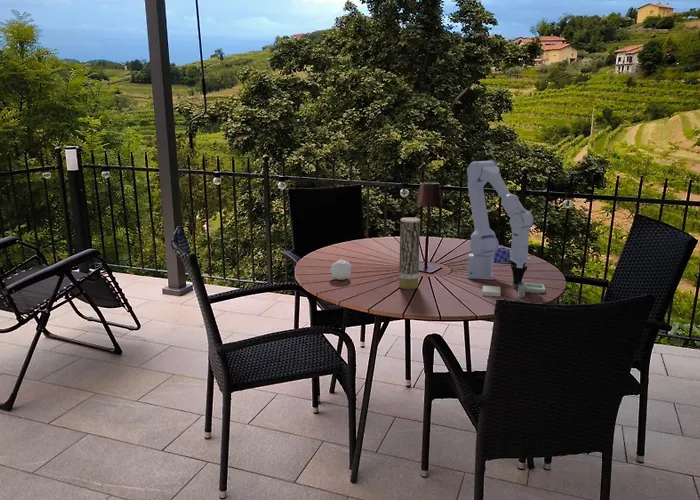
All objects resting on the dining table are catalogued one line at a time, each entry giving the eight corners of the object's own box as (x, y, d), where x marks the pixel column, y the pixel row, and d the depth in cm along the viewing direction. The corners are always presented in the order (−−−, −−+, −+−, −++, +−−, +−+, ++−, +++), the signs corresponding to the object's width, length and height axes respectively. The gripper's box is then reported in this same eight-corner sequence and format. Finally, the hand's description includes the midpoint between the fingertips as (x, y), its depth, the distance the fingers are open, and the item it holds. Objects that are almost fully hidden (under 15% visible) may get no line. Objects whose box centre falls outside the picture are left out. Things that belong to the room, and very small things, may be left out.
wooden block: (518, 297, 188) (519, 286, 187) (517, 292, 193) (518, 281, 192) (524, 297, 188) (525, 286, 187) (523, 293, 192) (524, 282, 192)
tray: (525, 292, 194) (526, 288, 193) (524, 286, 200) (524, 282, 199) (544, 293, 192) (545, 289, 192) (543, 288, 198) (543, 284, 198)
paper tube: (405, 283, 204) (407, 216, 198) (421, 287, 199) (423, 218, 193) (395, 287, 199) (396, 219, 193) (411, 291, 194) (413, 221, 188)
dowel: (512, 288, 198) (514, 269, 196) (512, 286, 201) (513, 267, 199) (520, 288, 197) (522, 270, 196) (520, 286, 200) (521, 267, 198)
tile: (482, 297, 190) (482, 291, 190) (482, 290, 197) (482, 285, 196) (500, 298, 189) (500, 292, 188) (499, 292, 195) (500, 286, 195)
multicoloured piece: (520, 264, 231) (521, 252, 230) (491, 264, 231) (492, 252, 230) (510, 257, 243) (511, 245, 242) (483, 257, 242) (484, 245, 241)
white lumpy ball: (347, 275, 213) (347, 256, 212) (354, 281, 206) (354, 261, 205) (328, 277, 211) (327, 258, 209) (334, 283, 204) (334, 263, 202)
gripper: (533, 250, 188) (530, 289, 191) (529, 241, 201) (527, 277, 205) (511, 249, 189) (509, 287, 192) (509, 240, 203) (507, 276, 206)
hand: (516, 282), depth 199 cm, fingers open, 4 cm apart
